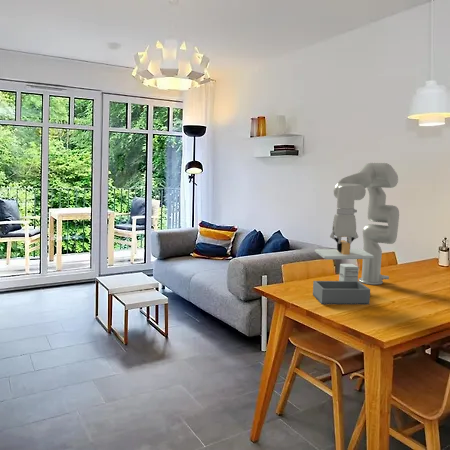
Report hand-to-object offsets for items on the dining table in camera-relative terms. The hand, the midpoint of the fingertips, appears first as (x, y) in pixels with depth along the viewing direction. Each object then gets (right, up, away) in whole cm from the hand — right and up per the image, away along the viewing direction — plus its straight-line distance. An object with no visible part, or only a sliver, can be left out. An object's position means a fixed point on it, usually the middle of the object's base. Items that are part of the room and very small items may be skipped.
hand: (343, 251), depth 206 cm
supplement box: (+8, -21, +21) cm, 31 cm away
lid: (0, -2, 0) cm, 2 cm away
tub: (-1, -23, +2) cm, 23 cm away
